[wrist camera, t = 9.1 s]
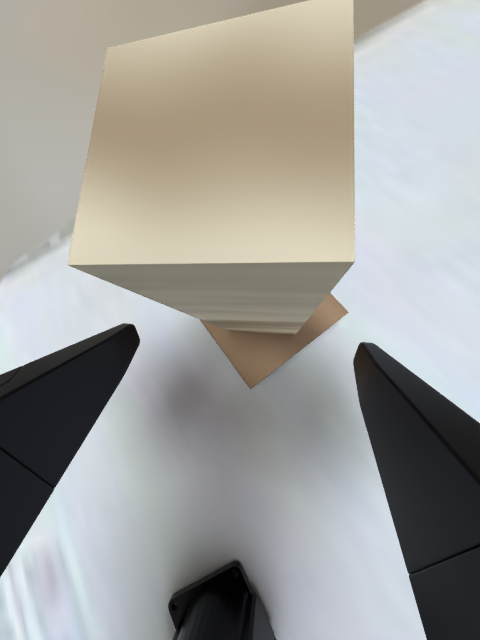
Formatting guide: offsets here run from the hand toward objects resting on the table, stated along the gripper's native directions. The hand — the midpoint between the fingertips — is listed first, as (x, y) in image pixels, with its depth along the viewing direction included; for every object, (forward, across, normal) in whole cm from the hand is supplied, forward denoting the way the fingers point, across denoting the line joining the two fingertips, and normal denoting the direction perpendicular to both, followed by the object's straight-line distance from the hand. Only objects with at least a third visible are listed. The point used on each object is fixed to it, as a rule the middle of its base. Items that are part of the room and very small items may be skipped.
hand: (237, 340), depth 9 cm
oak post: (+8, 0, +3) cm, 9 cm away
